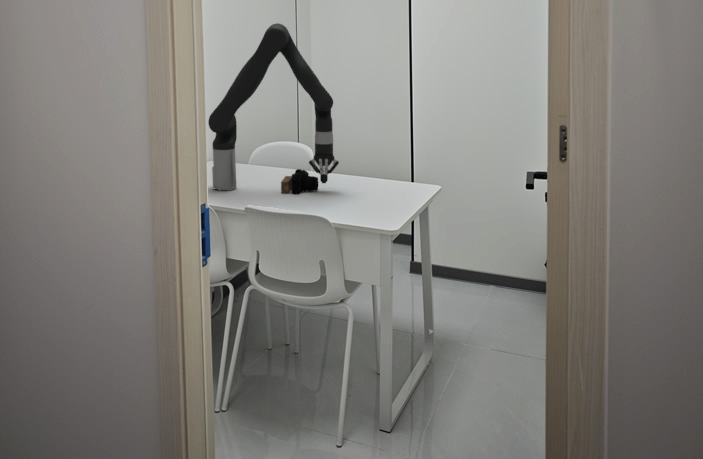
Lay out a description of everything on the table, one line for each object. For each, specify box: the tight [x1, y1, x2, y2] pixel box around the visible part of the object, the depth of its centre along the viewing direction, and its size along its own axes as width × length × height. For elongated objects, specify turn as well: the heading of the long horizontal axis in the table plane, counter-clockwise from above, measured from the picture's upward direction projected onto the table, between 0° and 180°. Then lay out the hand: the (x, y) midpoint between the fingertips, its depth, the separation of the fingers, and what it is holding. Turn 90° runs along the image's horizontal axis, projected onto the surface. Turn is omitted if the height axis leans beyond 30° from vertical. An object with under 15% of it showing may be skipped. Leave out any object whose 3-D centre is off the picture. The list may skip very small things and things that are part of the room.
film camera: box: [290, 168, 319, 196], centre depth 308 cm, size 15×10×9 cm, turn 167°
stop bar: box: [280, 175, 292, 195], centre depth 309 cm, size 3×11×5 cm, turn 175°
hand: (324, 182), depth 308 cm, fingers closed
